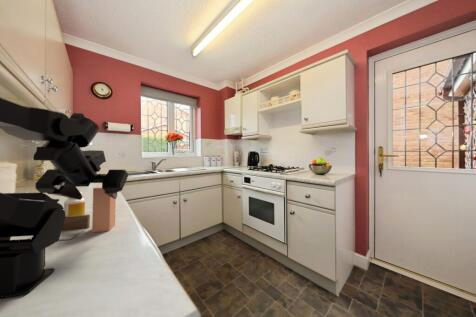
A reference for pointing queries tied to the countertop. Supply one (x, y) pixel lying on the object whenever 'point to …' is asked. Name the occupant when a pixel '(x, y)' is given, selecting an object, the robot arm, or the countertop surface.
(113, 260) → the countertop surface
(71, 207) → the supplement bottle
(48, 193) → the robot arm
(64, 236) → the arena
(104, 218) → the terracotta block
